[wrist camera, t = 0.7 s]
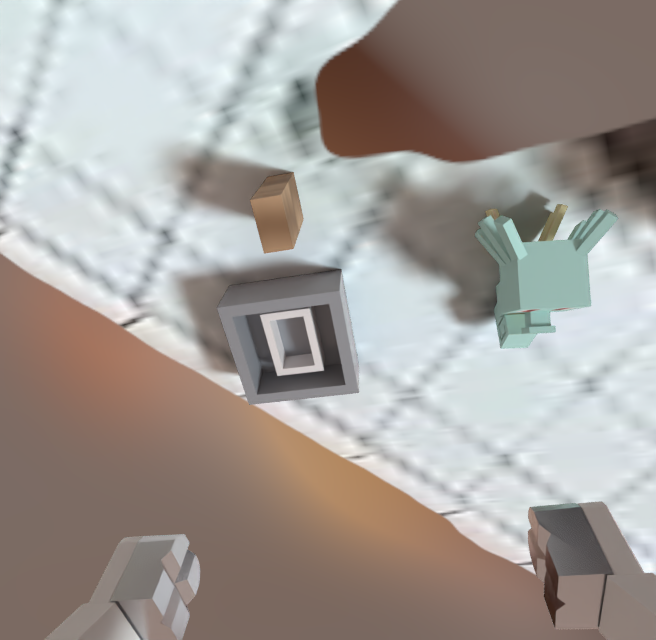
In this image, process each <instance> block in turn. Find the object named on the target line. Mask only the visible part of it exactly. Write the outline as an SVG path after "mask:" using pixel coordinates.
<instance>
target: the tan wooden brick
mask: <svg viewBox="0 0 656 640" xmlns="http://www.w3.org/2000/svg"><path fill="white" fill-rule="evenodd" d="M250 202H251V206H252V209H253V213H254V217H255V221H256V224H257V228H258V232H259V236H260V240H261V243H262V247H263V251H264V253H270V252H277V251H283V250H290V249H294V246H295V243H296V240H297V237H298V234H299V231H300V228H301V225H302V222H303V214H302V210H301V205H300V200H299V196H298V191H297V186H296V182H295V177H294V172H292V173H287V174H281V175H276V176H270V177H267V178H266V180H265V181H264V182H263V184H262V185H261V186H260V188H259V189H258V190H257V192H256V193H255V194H254V196H253V197H252V198H251V200H250Z"/></svg>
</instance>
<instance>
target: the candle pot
mask: <svg viewBox="0 0 656 640" xmlns="http://www.w3.org/2000/svg"><path fill="white" fill-rule="evenodd" d="M217 310H218V313H219V316H220V319H221V322H222V325H223V328H224V331H225V334H226V337H227V340H228V343H229V346H230V349H231V352H232V355H233V358H234V361H235V364H236V367H237V370H238V373H239V376H240V379H241V382H242V385H243V388H244V391H245V394H246V397H247V400H248V403H249V405H251V404H260V403H269V402H279V401H288V400H297V399H306V398H315V397H325V396H334V395H343V394H352V393H359V363H358V357H357V352H356V347H355V341H354V336H353V330H352V325H351V319H350V314H349V308H348V303H347V297H346V292H345V286H344V281H343V276H342V270H341V269H340V270H333V271H327V272H320V273H313V274H306V275H299V276H292V277H286V278H279V279H272V280H265V281H258V282H251V283H245V284H238V285H231V286H229V287H228V289H227V291H226V292H225V294H224V296H223V298H222V299H221V301H220V303H219V305H218V307H217Z"/></svg>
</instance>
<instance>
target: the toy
mask: <svg viewBox="0 0 656 640" xmlns="http://www.w3.org/2000/svg"><path fill="white" fill-rule="evenodd" d="M567 207H568V206H566V205H563V204H557V206H556V208H555V211H554V213H552V212H551V213H550V215H549V217H548V220H547V222H546V224H545V227H544V229H543V231H542V233H541V236H540V238H539V240H538V242H522V241H521V239H520V237H519V234H518V232H517V230H516V228H515V225H514V223H513V221H512V219H511V218H508V217H505V216H502V215H501V216H499V213H498V210H497V209H489V210H487V211H485V212H486V215H487V217H485V218H484V219H483V220H481V221H480V222H478V224H479V226H480V227H481V228H480V229H478V230H477V231H476V234H475V237H476V238H477V239H478V240H479V242H480V243H481V244H482V245H483V246H484V247H485V249H486V250H487V251H488V252H489V253H490V254H491V256H492V257H493V258H494V259H495V260H496V261H497V263H498V264H499V270H500V282H499V283H498V285H497V286H496V295H497V304H496V306H495V308H494V313H495V319H496V325H497V330H498V336H499V342H500V348H501V349H504V348H528V346H529V345H530V343H531V342H532V341H533V339H534V338H535V336H536V335H537V333H552V332H556V330H555V326H551V322H550V312H558V311H568V310H573V309H579V308H584V307H589V306H591V297H590V284H589V270H588V256H587V254H588V253H589V252H590V251H591V249H592V248H593V247H594V246H595V245H596V244H597V243H598V241H599V240H600V239H601V238H602V237H603V236H604V235H605V233H606V232H607V231H608V230H609V229H610V228H611V227H612V225H613V224H614V223H615V222H616V221H617V220H618V217H617V215H616V214H614V213H612V212H611V211H609V210H607V209H606V211H605V212H604V211H602V210H601V209H599V210H596V211H594V212H593V213H592V215H591V216H590V218H589V219H588V220H587V222H586V221H584V220H583V221H582V222H580V223H579V224H578V225H576V226H575V228H574V230H573V231H572V233H571V234H570V236H569V238H568V239H567V240H555V241H553V239H554V236H555V234H556V232H557V230H558V227H559V225H560V223H561V221H562V218H563V216H564V214H565V212H566V210H567Z"/></svg>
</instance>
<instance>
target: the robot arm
mask: <svg viewBox="0 0 656 640" xmlns="http://www.w3.org/2000/svg"><path fill="white" fill-rule="evenodd" d="M528 519H529V522H530V525H531V527H532V528H531V529H530V530H529V531H528V544H529V551H530V556H531V560H532V563H533V567H534V570H535V573H536V576H537V577H538V578H539V579H540V580H541V581H542V582H544V599H545V602H546V605H547V608H548V610H549V613H550V616H551V619H552V622H553V625H554V628H555V629H599V632H600V633H601V634H602V635H603V636H604V637H605V638H606V639H607V640H656V575H655V574H653V573H644V571H643V570H642V568H641V566H640V564H639V562H638V561H637V559H636V557H635V555H634V553H633V552H632V550H631V548H630V546H629V545H628V543H627V541H626V539H625V537H624V536H623V534H622V532H621V530H620V528H619V527H618V525H617V523H616V521H615V519H614V518H613V516H612V514H611V512H610V511H609V509H608V507H607V505H605V504H604V503H603V502H589V503H578V504H576V503H570V504H559V505H548V506H537V507H530V508H529V510H528ZM188 545H189V541H188V540H187V538H186V536H185V534H180V535H159V536H140V537H126V538H124V539H123V540H122V541H121V542H120V543H119V544H118V546H117V548H116V550H115V552H114V554H113V556H112V558H111V560H110V562H109V563H108V565H107V568H106V569H105V571H104V573H103V575H102V577H101V579H100V581H99V583H98V585H97V587H96V589H95V591H94V593H93V596H92V598H91V599H90V601H89V603H88V604H82V605H81V606H80V607H79V608H78V609H77V610H76V611H75V612H74V613H73V614H71V615H70V616H69V617H68V618H67V619H66V620H65V621H64V622H63V623H62V624H61V625H59V626H58V627H57V628H56V629H55V630H54V631H53V632H52V633H51V634H50V635H49V636H48V637H46V638H45V639H44V640H182V638H183V635H184V632H185V629H186V625H187V622H188V619H189V616H190V614H189V611H188V608H187V604H188V603H189V602H190V601H191V600H192V599H193V598H194V597H195V596H196V592H197V589H198V586H199V579H200V567H199V561H198V559H197V557H196V555H195V554H194V553H192V552H191V551H189V550H187V548H188Z"/></svg>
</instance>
